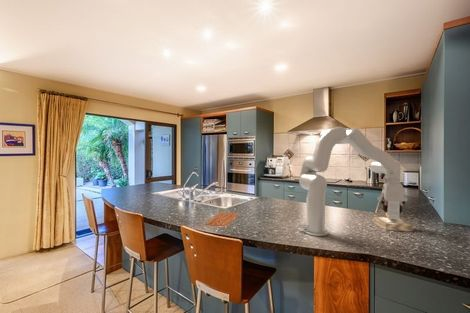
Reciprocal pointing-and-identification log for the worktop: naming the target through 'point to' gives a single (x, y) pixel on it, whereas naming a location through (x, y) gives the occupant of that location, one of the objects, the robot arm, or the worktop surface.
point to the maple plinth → (393, 224)
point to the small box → (393, 209)
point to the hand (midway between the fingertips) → (392, 211)
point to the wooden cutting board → (222, 219)
